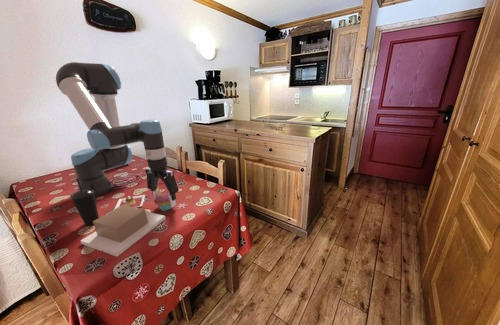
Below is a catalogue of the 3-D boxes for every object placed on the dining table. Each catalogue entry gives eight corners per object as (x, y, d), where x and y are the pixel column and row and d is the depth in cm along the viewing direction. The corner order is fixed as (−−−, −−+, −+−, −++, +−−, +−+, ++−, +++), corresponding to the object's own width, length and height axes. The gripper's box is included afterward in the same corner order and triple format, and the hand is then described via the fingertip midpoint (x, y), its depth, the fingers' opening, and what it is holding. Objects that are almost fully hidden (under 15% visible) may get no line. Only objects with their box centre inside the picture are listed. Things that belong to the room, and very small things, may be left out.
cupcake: (157, 215, 89) (151, 190, 85) (155, 206, 96) (150, 182, 92) (177, 209, 92) (173, 185, 88) (174, 201, 99) (170, 178, 95)
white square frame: (119, 201, 103) (117, 192, 101) (145, 196, 106) (143, 188, 105) (113, 213, 92) (110, 204, 90) (142, 208, 96) (140, 199, 94)
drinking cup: (88, 217, 88) (73, 175, 82) (107, 216, 89) (93, 174, 82) (76, 228, 81) (58, 183, 75) (96, 227, 82) (80, 182, 75)
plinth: (81, 243, 73) (75, 226, 70) (134, 211, 92) (130, 196, 90) (117, 256, 67) (111, 238, 64) (165, 218, 86) (162, 203, 83)
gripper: (130, 158, 86) (141, 204, 94) (170, 162, 79) (178, 212, 86) (145, 153, 93) (154, 197, 100) (182, 156, 85) (189, 204, 93)
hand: (165, 204), depth 93 cm, fingers closed on cupcake, 8 cm apart
